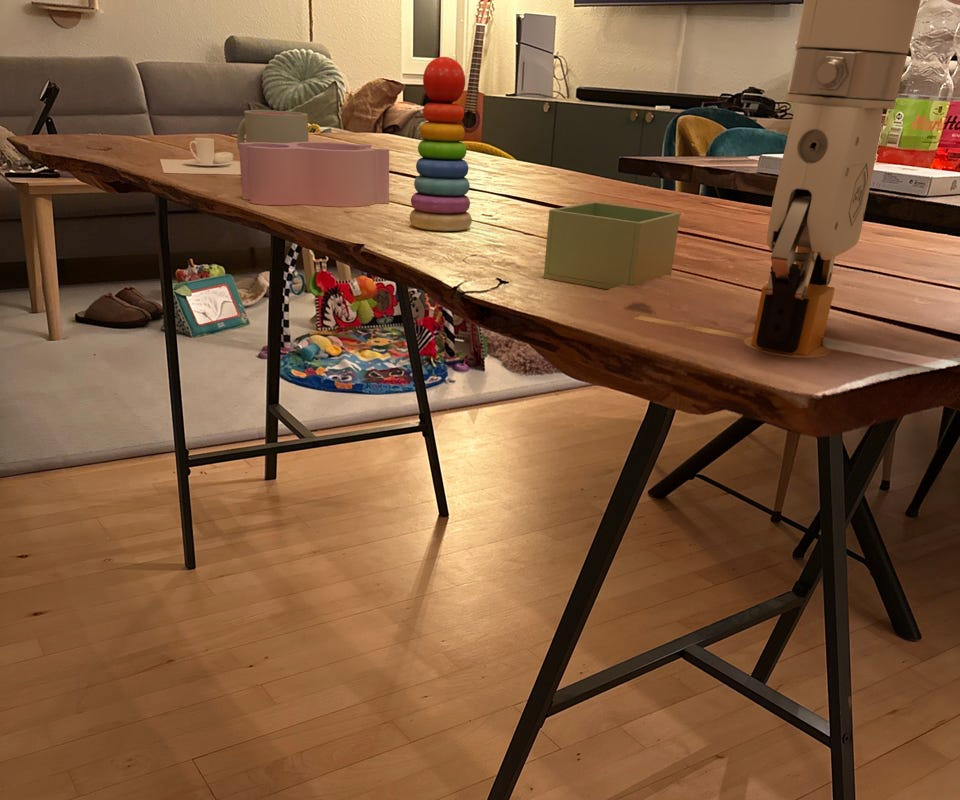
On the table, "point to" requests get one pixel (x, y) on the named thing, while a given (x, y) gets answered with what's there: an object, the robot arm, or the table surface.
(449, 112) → the stacking toy
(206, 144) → the teacup and saucer
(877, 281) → the table surface
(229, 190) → the table surface
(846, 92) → the robot arm
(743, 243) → the table surface
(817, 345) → the block
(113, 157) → the table surface
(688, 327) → the spoon
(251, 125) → the mug
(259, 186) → the pink twin-well planter
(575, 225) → the open top crate
